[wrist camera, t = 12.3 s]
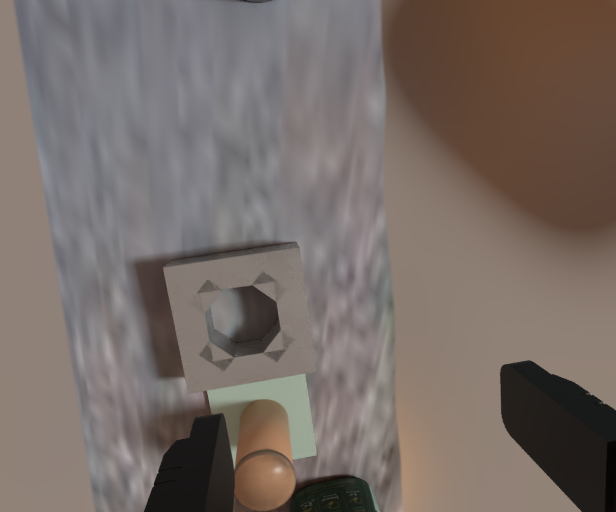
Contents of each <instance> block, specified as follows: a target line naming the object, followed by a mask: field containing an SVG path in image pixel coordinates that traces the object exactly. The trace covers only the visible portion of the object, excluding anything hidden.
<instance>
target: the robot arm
mask: <svg viewBox="0 0 616 512" xmlns="http://www.w3.org/2000/svg"><path fill="white" fill-rule="evenodd" d="M247 1H251V2H266V1H271V0H247ZM500 382H501V414H502V419H503V423H504V425H505V428H506V430H507V431H508V433H509V434H510V436H511V437H512V438H513V439H514V440H515V441H516V442H517V443H518V444H519V445H520V446H521V447H522V449H523V450H524V451H525V452H526V453H527V454H528V455H529V456H530V457H531V458H532V459H533V460H534V461H535V462H536V464H538V465H539V467H540V468H541V469H542V470H543V471H544V472H545V473H546V474H547V475H548V476H549V477H550V478H551V479H552V480H553V482H555V484H556V485H557V486H558V487H559V488H560V489H561V490H562V491H563V492H564V493H565V494H566V495H567V496H568V497H569V498H570V500H571V501H572V502H573V503H574V504H575V505H576V506H577V507H578V508H579V509H580V510H581V511H582V512H616V410H614V409H613V408H612V407H610V406H609V405H607V404H603V402H602V401H601V400H600V399H598V398H597V397H595V396H594V395H590V393H589V392H588V391H586V390H585V389H583V388H582V387H580V386H579V385H577V384H576V383H574V382H572V381H569V380H567V379H564V378H561V377H559V376H557V375H554V374H552V375H551V374H550V373H548V372H547V371H546V370H544V369H543V368H541V367H540V366H538V365H537V364H536V363H534V362H532V361H529V360H528V361H522V362H517V363H511V364H505V365H503V366H502V367H501V372H500ZM158 471H159V473H158V474H157V476H156V479H155V482H154V487H153V488H152V490H151V493H150V496H149V499H148V502H147V505H146V508H145V510H144V512H233V501H234V489H235V474H234V464H233V458H232V453H231V447H230V442H229V437H228V431H227V426H226V421H225V417H224V414H223V413H218V414H212V415H207V416H201V417H196V418H195V420H194V423H193V426H192V430H191V434H190V437H189V438H187V439H181V440H176V442H175V443H174V444H173V445H172V446H171V447H170V449H169V450H168V451H167V452H166V453H165V454H164V456H163V459H162V462H161V465H160V468H159V470H158Z"/></svg>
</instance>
